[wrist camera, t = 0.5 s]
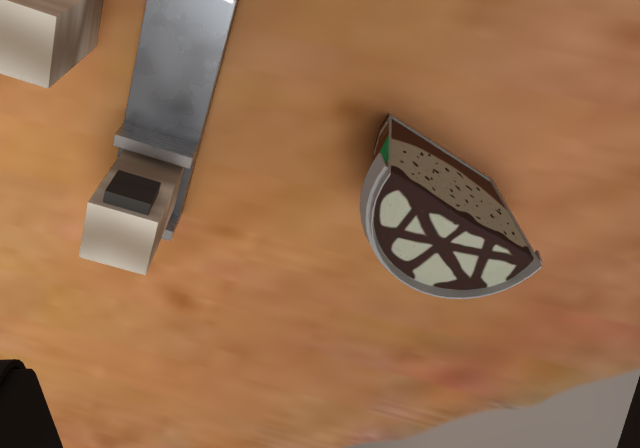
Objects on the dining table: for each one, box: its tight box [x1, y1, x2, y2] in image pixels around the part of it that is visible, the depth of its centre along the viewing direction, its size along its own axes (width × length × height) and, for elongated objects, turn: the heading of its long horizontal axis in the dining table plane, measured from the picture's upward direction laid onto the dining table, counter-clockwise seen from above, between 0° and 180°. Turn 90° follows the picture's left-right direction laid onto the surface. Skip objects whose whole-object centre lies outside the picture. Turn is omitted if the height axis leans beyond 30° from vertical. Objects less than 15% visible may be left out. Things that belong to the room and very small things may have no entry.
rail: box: [113, 0, 239, 241], centre depth 38 cm, size 25×5×4 cm, turn 161°
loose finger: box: [0, 0, 103, 88], centre depth 35 cm, size 4×5×8 cm
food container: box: [360, 114, 542, 299], centre depth 40 cm, size 12×6×10 cm, turn 57°
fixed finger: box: [79, 149, 184, 275], centre depth 39 cm, size 5×4×8 cm
